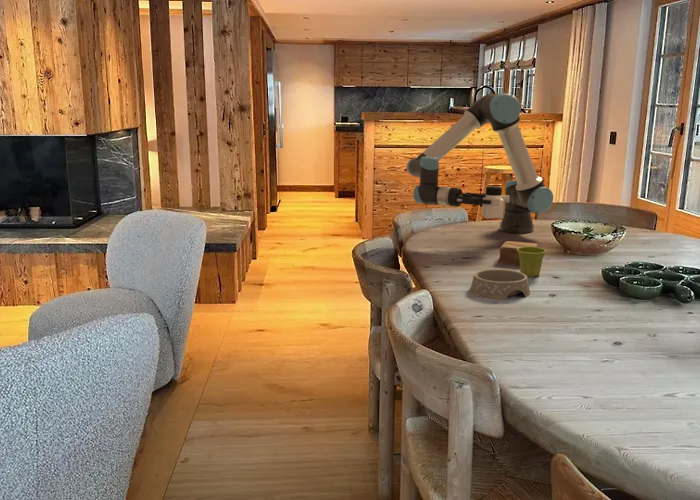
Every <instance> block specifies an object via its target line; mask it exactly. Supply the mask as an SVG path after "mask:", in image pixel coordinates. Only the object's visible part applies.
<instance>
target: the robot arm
mask: <svg viewBox="0 0 700 500" xmlns="http://www.w3.org/2000/svg"><path fill="white" fill-rule="evenodd" d="M520 112H521V104H520V101H519V99H517V97H516V96H515V95H512V94H510V93H505V92H501V93H488V94H486V95H483V96H481V97H480V98H479V99H477V100H476V101H475V102H474V103H473V104H472V105H470V106H469V107H468V108H467V109H466V110H465V111H464V113H463V116H462V117H461V118H459V119H458V120H457V121H456V122H455V123H454V124H453V125H451V127H449V128H448V129H447V130H446V131H445V132H444V133H443V134H441V135H440V136H439V137H438V138H437V139H436V140H435V141H434V142H433V143H432V144H430V146H428V147H427V148H426V149H424V150H423V152H422V153H420V154H419V155H418V156H417V157H414V158H411V159H409V161H407V164H406V170H407V172H408V173H409V174H410V175H411V176H413V177H415V178H419V185H416V186H415V187H414V189H413V193H412V194H413V195H412V196H413V200H414V202H415V203H417V204H423V205H435V206H442V207H443V208H445V207H446V206H447V207H449V206H450V207H455V208H456V207H460V206H461V204H463V205H464V204H465V205H472V206H479V207H480V208H482V207H483V205H489V206H500V202H501V199H494V198H485V197H486V193H480V192H479V193H475V192H463V190H462V189H461V188H460V187H452V186H439V169H440V163H439V162H440V161H441V160H442V159H443V158H444V157H446V156H447V155H448V154H449V153H450V152H452V150H454V148H456V147H457V146H458V145H459V144H460V143H462V142H463V141H464V140H465V138H466V139H467V137H468V136H469V135H471V133H472V132H474V131H475V130H477V129H478V130H479V129H480V128H482V127H483V126H484V125H486V124H489V123H490V126H491V128H492V131H493V132H494V133H497V134H498V137H499V138H500V141H501V144H502V147H503V148H504V149H503V150H504V151H505V155H506V156H507V159H508V161H509V162H508V163H509V164H510V167H511V170H512V172H513V175H514V178H515V180H514V179H513V180H507V181H506V182H505V188H504V194H502V197H501V198H502V199H503V200H504V218H501V222H500V224H499V231H502V232H504V233H513V234H527V233H528V234H529V233H532V232H534V230H535V225H534V223H533V217H532V214H543V213H545V212H547V211H548V210H549V209H550V208H551V207H552V204H553V202H554V193H553V191H552V190H551V189H550V188H549V187H547V186H545V183H544V180H543V178H542V177H541V176H539V175H538V174H537V172H536V169H535V167H534V164H533V160H532V159H531V156H530V153H529V149H528V147H527V144H526V142H525V139H524V137H523V134H522V131H521V130H520V126H519V124H520V121H521V118H520ZM531 213H532V214H531Z"/></svg>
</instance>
